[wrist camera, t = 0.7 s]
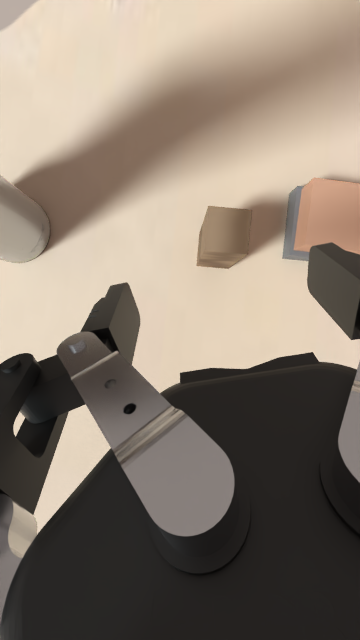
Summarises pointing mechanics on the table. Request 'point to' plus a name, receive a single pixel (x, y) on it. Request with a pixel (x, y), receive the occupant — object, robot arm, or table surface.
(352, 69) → the table surface
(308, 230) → the upper slab
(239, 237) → the brown block
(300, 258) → the lower slab
